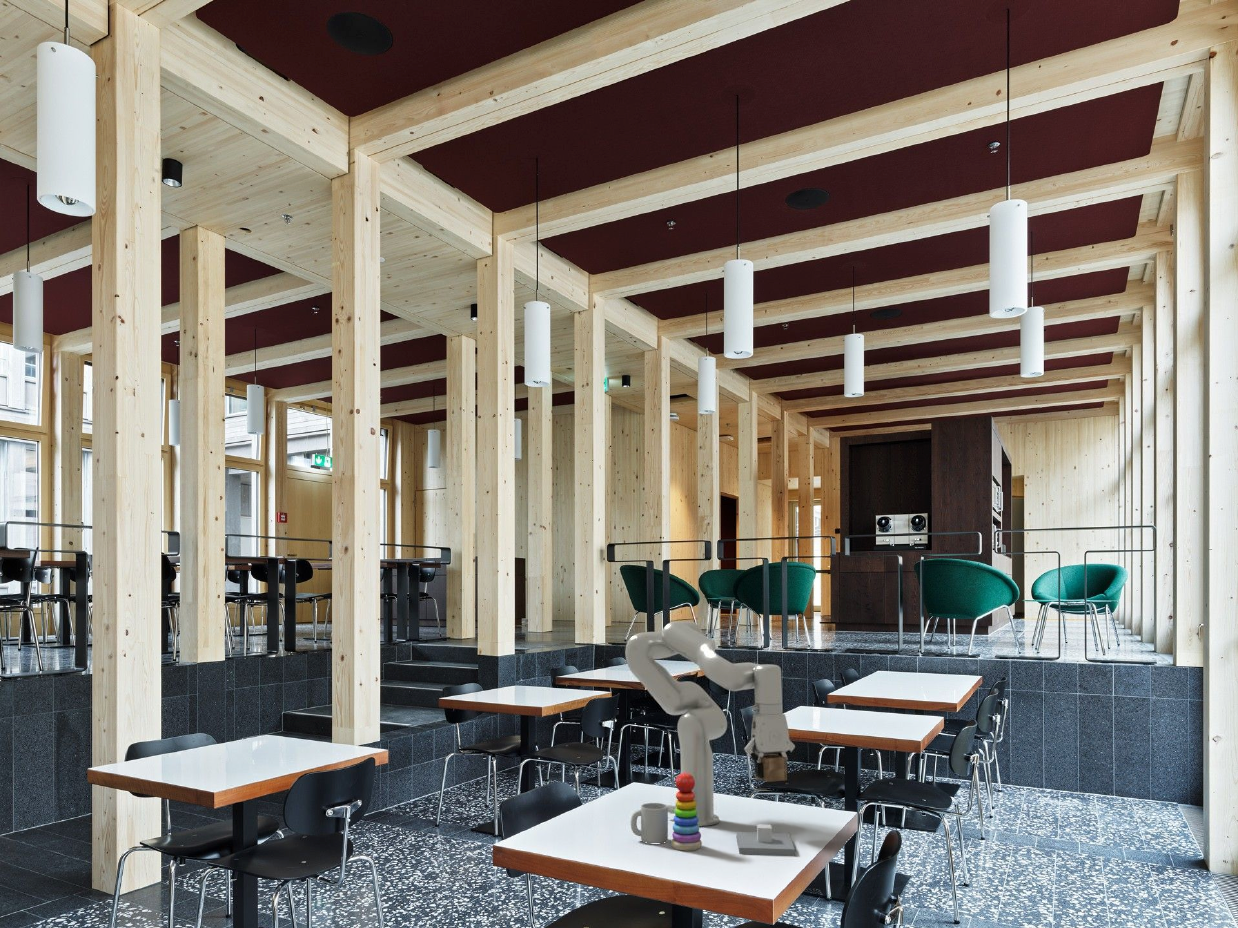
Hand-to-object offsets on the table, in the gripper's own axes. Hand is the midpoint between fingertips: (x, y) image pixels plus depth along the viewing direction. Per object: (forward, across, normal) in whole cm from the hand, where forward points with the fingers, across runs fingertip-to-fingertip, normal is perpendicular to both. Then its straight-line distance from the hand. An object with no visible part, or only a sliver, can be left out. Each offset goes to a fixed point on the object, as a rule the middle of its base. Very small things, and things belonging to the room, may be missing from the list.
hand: (770, 775), depth 240 cm
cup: (+16, -34, +7) cm, 38 cm away
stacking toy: (+16, -27, -2) cm, 32 cm away
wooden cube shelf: (+1, 0, 0) cm, 1 cm away
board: (+16, -8, -8) cm, 19 cm away
